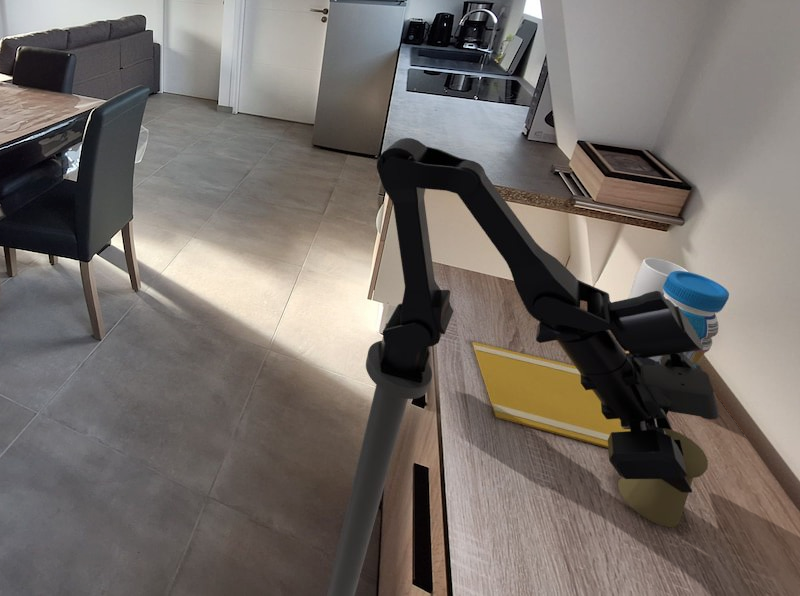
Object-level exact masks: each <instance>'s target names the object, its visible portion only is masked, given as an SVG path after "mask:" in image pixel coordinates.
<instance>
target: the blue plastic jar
mask: <svg viewBox="0 0 800 596" xmlns="http://www.w3.org/2000/svg"><path fill="white" fill-rule="evenodd" d="M663 292H664V293H662V294H663V296H664V297H665V298H666V299H669V300H670V301H671V302H672V303H673V304H674V305H675V306H678V307H679V308H680V309H681V311H682V312H683V313H684V315H685V316H686V318H687V319H688V320H689V322H690V323H691V325H692V327H693V328H694V330H695V332H696V333H697V335H698V337H699V339H700V341H701V343H702V345H703V350H698V351H691V352H684V353H683V354H684V355H685V356H686V357H687V358H688V359H689V360H690V361H691V362H692V363H693V365H694V367H695V368H696V366H699V364H700V362H701V360H702V358H703V357H704V355H705V353H707V352H709V351H710V350H711V348H712V345H713V338H714V337H716V335H718V333H719V321H718V318H717V315H716V314H718V313H720V312H722V310H723V309H724V307H725V306H726V304H727V302H728V300H729V297H730V292H729V290H728V289H727V288H725V287H724V286H723V285H721V284H720V283H718V282H716V281H715V280H713V279H710V278H708V277H706V276H703V275H700V274H697V273H694V272H690V271H689V272H685V271H673V272H671V273H670V274H669V275H668V277H667V279H666V281H665V283H664V286H663ZM624 353H625V354H626V353H629V352H628V351H624ZM662 357H663V356H656V357H649V358H650V359H652V360H655V361H658V362H659V364H661V358H662Z"/></svg>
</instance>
